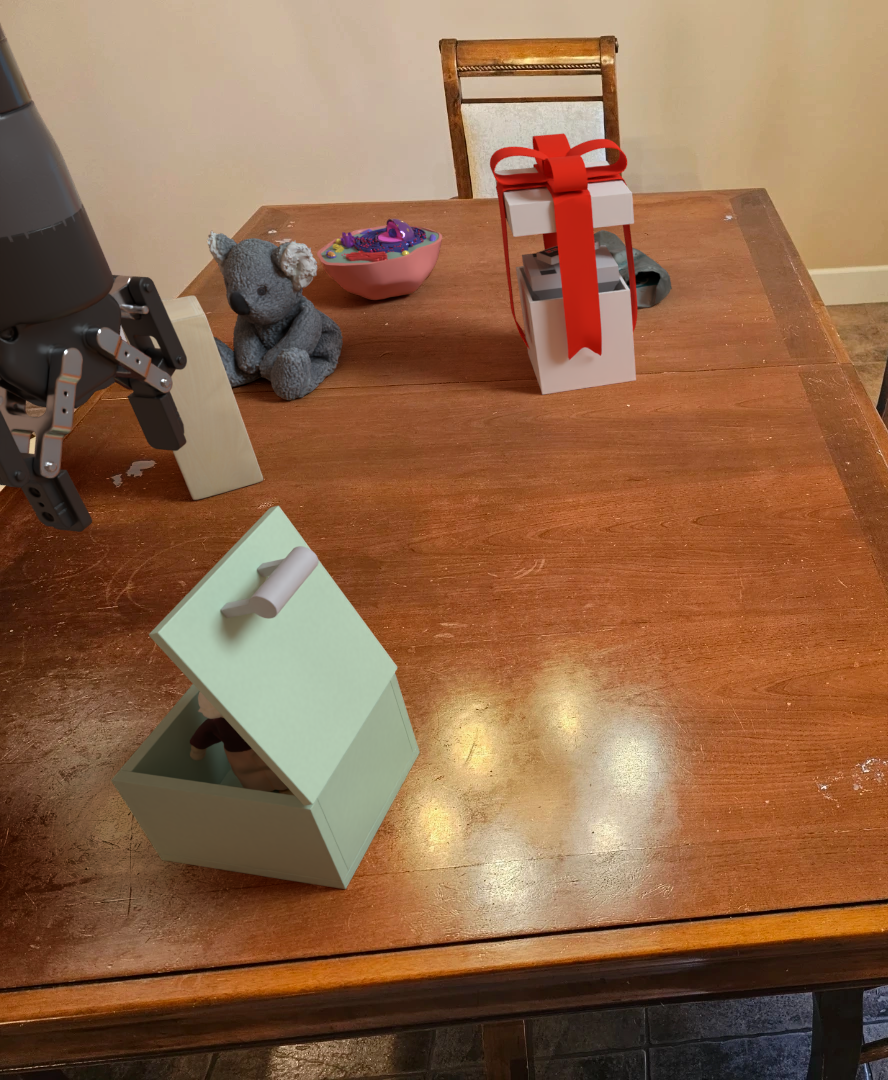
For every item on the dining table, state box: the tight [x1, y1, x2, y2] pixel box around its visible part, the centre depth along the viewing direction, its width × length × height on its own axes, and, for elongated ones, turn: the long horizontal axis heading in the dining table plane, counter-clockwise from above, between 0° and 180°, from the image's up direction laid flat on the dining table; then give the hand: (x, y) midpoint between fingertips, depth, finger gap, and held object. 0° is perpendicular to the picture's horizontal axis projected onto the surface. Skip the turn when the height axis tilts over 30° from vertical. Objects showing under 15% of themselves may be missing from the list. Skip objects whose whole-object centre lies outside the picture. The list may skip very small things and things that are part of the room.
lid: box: [148, 505, 398, 805], centre depth 61 cm, size 16×13×5 cm
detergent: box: [594, 229, 673, 310], centre depth 155 cm, size 13×7×25 cm
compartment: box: [110, 672, 421, 890], centre depth 70 cm, size 15×13×9 cm
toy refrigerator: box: [121, 294, 264, 501], centre depth 104 cm, size 8×7×21 cm
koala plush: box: [206, 229, 344, 401], centre depth 127 cm, size 17×18×20 cm
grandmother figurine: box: [190, 692, 295, 796], centre depth 69 cm, size 8×4×13 cm, turn 114°
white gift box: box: [489, 133, 638, 395], centre depth 124 cm, size 17×17×30 cm
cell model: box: [316, 218, 443, 301], centre depth 151 cm, size 17×20×11 cm
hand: (124, 484), depth 55 cm, fingers open, 8 cm apart
